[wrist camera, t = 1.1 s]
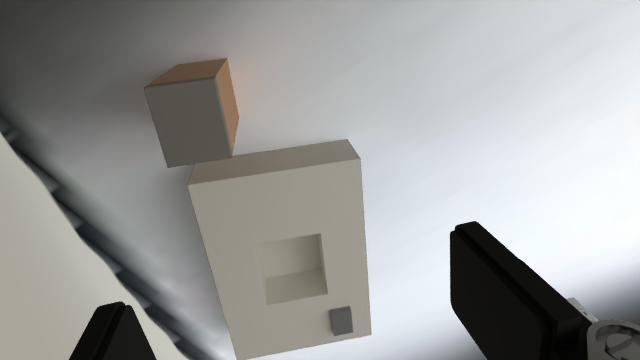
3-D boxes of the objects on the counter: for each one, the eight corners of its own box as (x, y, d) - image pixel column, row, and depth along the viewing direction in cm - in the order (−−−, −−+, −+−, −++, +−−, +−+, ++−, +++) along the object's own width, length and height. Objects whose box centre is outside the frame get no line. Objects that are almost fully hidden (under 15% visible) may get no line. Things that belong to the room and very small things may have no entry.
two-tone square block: (177, 64, 31) (143, 88, 22) (227, 58, 31) (214, 79, 22) (192, 123, 33) (167, 167, 24) (238, 117, 33) (231, 158, 24)
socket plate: (196, 161, 34) (185, 188, 29) (347, 139, 35) (362, 161, 30) (239, 323, 43) (237, 366, 38) (360, 301, 44) (373, 339, 39)
